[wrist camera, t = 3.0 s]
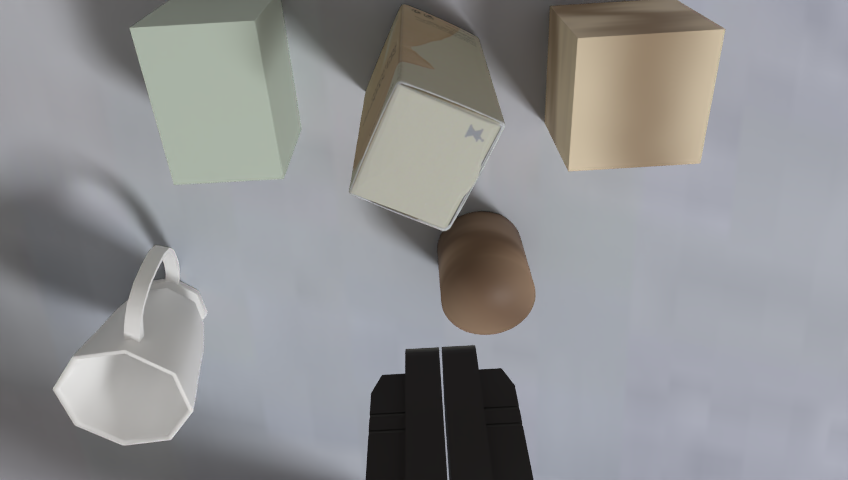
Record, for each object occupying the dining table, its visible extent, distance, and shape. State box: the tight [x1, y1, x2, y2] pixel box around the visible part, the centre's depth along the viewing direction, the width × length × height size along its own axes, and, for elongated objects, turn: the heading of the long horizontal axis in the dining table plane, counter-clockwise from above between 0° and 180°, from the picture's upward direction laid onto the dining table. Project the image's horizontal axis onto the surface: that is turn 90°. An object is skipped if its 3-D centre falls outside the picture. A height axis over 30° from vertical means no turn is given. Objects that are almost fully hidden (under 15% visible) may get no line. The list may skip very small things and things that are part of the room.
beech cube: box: [545, 0, 725, 171], centre depth 31 cm, size 6×6×6 cm
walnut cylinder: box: [437, 211, 535, 335], centre depth 37 cm, size 5×5×5 cm
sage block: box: [130, 0, 301, 185], centre depth 30 cm, size 5×7×6 cm
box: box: [349, 4, 505, 231], centre depth 28 cm, size 5×4×11 cm
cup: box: [53, 245, 208, 446], centre depth 36 cm, size 7×10×8 cm
